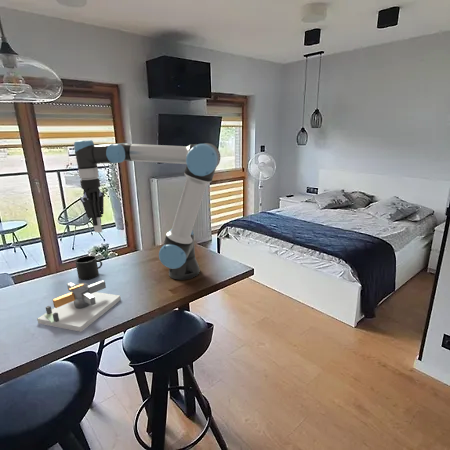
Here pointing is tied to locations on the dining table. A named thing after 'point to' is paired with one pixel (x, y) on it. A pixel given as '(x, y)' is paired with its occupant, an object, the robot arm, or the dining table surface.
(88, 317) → the stand plate
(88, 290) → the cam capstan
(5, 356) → the dining table surface
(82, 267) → the mug
